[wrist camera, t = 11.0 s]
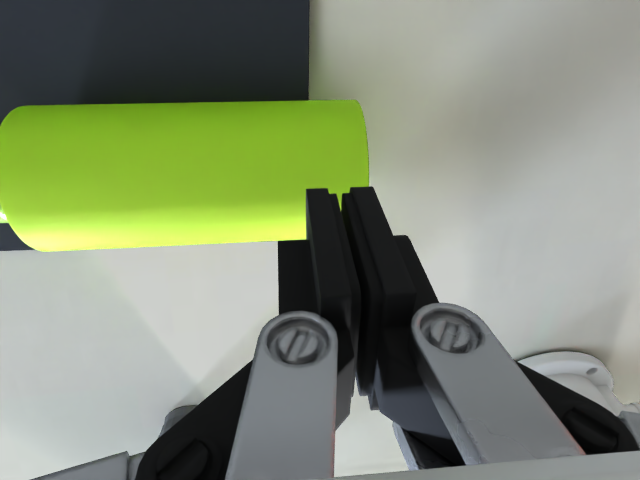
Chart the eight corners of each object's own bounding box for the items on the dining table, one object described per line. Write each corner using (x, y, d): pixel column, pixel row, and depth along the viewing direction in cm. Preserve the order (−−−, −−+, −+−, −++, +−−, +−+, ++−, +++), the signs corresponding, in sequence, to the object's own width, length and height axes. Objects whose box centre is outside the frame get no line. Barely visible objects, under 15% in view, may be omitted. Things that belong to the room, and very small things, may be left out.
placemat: (309, -130, 15) (311, -131, 15) (306, 236, 24) (306, 240, 24) (-329, -161, 13) (-345, -164, 13) (-67, 249, 22) (-72, 253, 22)
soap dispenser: (378, 104, 14) (-315, 117, 12) (361, 264, 18) (-151, 291, 16) (350, 56, 18) (-152, 60, 16) (342, 192, 22) (-58, 207, 21)
